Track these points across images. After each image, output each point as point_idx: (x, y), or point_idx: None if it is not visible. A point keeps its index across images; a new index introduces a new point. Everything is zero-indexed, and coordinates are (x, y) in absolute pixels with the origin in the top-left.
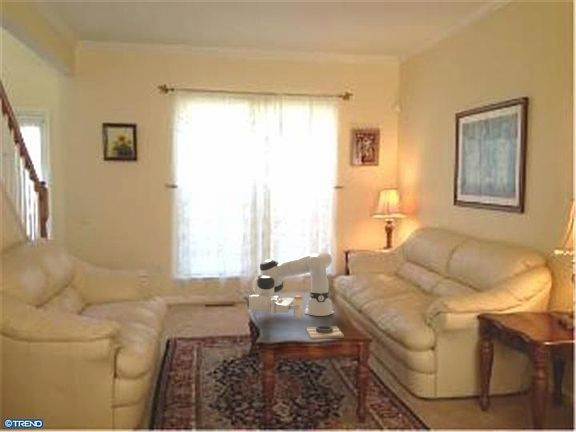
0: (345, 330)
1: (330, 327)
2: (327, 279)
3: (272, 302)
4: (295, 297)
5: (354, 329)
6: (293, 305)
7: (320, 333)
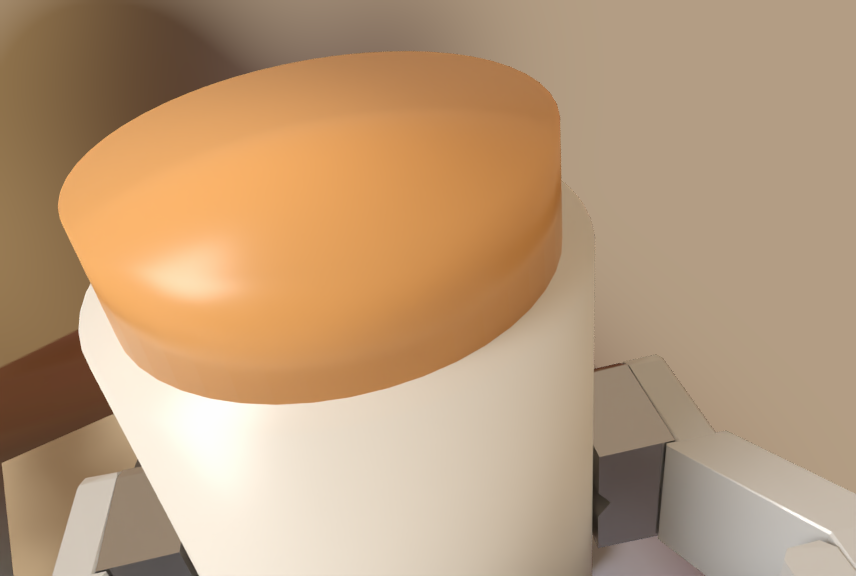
0: (83, 397)
1: None
2: None
3: None
4: (548, 185)
5: (41, 353)
6: (799, 475)
7: None
